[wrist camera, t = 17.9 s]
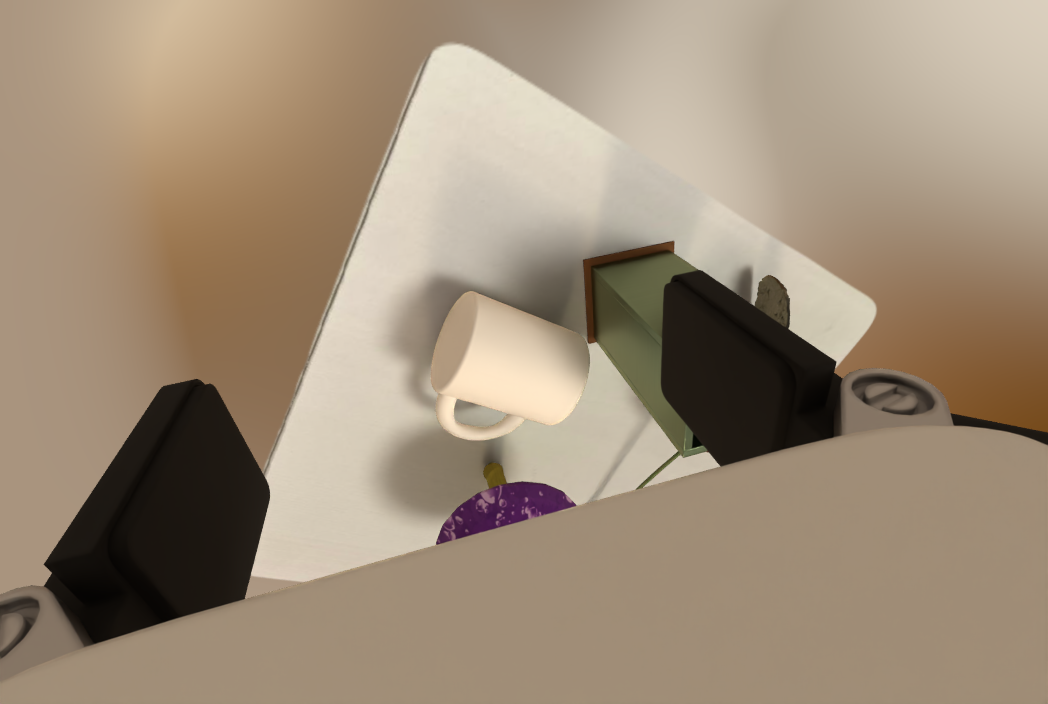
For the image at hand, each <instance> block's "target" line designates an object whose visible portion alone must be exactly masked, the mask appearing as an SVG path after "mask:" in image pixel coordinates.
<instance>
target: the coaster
mask: <svg viewBox="0 0 1048 704" xmlns="http://www.w3.org/2000/svg"><path fill="white" fill-rule="evenodd" d="M666 250H670V251H671V252H673V253H674V241H672V242H667V243H662V244H657V245H653V246H648V247H643V248H638V249H633V250H628V251H623V252H619V253H614V254H609V255H604V256H599V257H594V258H590V259H585V260H583V264H584V281H585V298H586V315H587V332H588V343H589V344H590V343H595V342H596V340H595V339H594V322H593V302H592V283H591V266H594V265H599V264H603V263H608V262H613V261H618V260H623V259H627V258H632V257H637V256H642V255H646V254H651V253H656V252H661V251H666Z"/></svg>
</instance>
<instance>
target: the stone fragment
mask: <svg viewBox="0 0 1048 704" xmlns="http://www.w3.org/2000/svg"><path fill="white" fill-rule="evenodd" d="M757 295H758V297H757V300H756V302H755V307H756V308H758V309H759V310H761V311H762V312H764V313H765V314H767V315H768V316H770V317H771V318H773V319H774V320H775V321H777V322H778V323H780V324H781V325H783V326H784V327H786V328H787V329H788V328H789V325H790V298H788V297H789V296H788V295H787V289H786V288H785V287H784V285H783V284H782V283H781V282H780V281H779V280H778V279H776V278H775V277H773V276H771V275H768V276H765V277H764V278H762V281H760V282H759V287H758V293H757Z"/></svg>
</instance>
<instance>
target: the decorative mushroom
mask: <svg viewBox="0 0 1048 704" xmlns="http://www.w3.org/2000/svg"><path fill="white" fill-rule="evenodd" d="M483 475H484V477H485V479H486V480H487V482H488V486H489V489H487V490H485V491H482V492H480V493H477V494H476V495H474V496H473V497H471V498H470V499H469V500H467V501H466V502H464V503H463V504H461V505H460V506H459V507H458V508H457V509H456V510H455V511H454V512H453V513H452V515H451V516H450V517H449V518H448V519H447V521H446V522H445V523H444V524H443V526H442V528H441V531H440V534H439V536H438V539H437V542H436V545H438V544H442V543H445V542H449V541H453V540H456V539H460V538H463V537H467V536H471V535H474V534H478V533H481V532H485V531H488V530H492V529H496V528H499V527H503V526H506V525H510V524H514V523H517V522H521V521H524V520H528V519H532V518H535V517H539V516H542V515H546V514H550V513H553V512H557V511H560V510H564V509H568V508H571V507H575V506H576V504H575V503H574V502H573V501H572V500H571V499H570V498H569V497H568V496H567V495H566V494H565V493H564V492H563V491H561V490H558V489H556V488H553V487H551V486H549V485H546V484H543V483H533V482H523V481H522V482H515V483H508V484H507V483H506V479H505V476H504V472H503V468H502V466H501V465H500V464H498V463H489V464H488V465H486V467H485V468H484V471H483Z"/></svg>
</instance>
